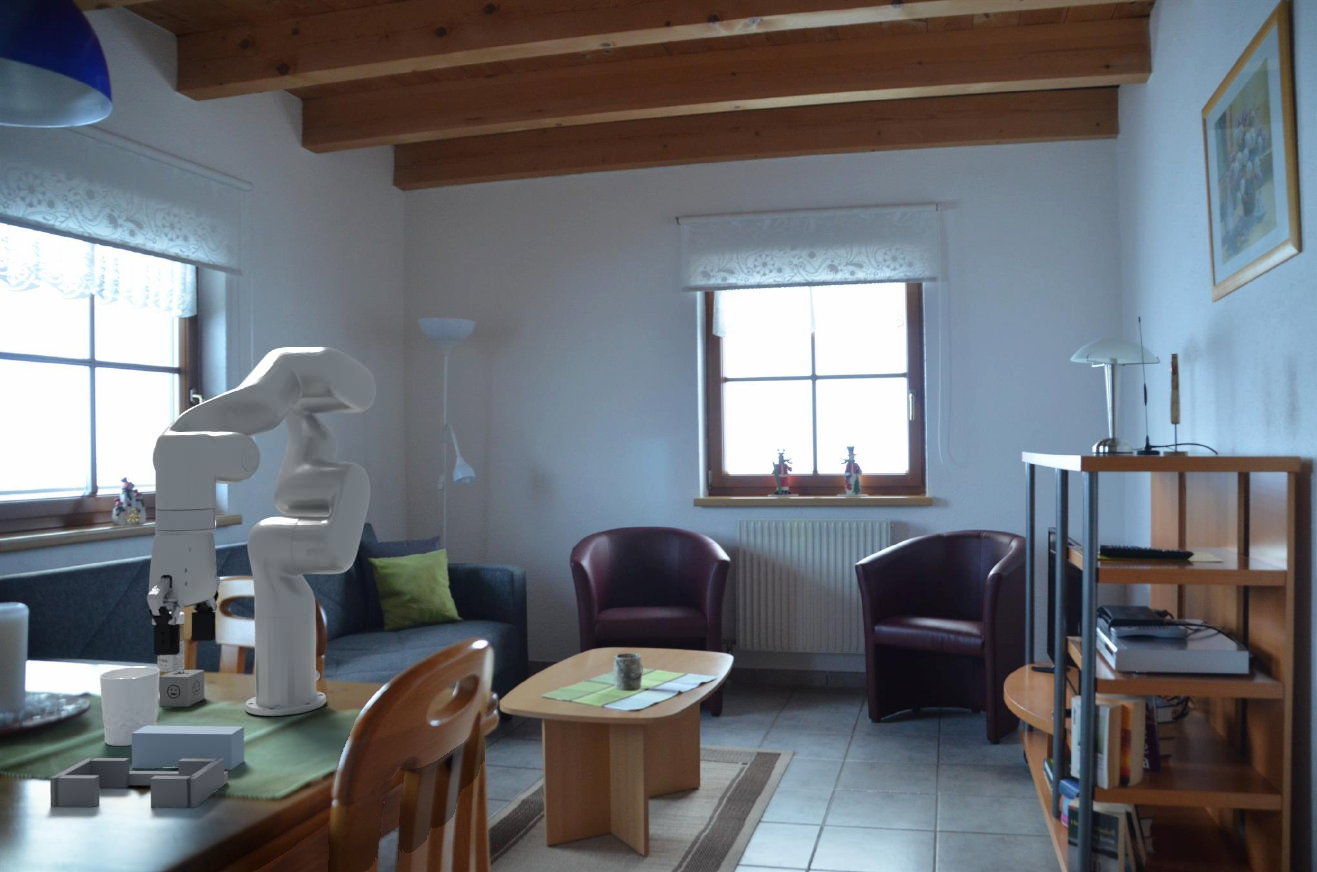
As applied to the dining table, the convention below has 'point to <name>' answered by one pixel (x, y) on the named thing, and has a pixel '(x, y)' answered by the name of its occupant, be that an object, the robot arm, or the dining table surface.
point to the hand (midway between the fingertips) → (185, 647)
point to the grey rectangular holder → (138, 782)
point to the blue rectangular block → (186, 745)
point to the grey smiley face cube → (181, 688)
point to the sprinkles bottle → (173, 661)
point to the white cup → (128, 702)
